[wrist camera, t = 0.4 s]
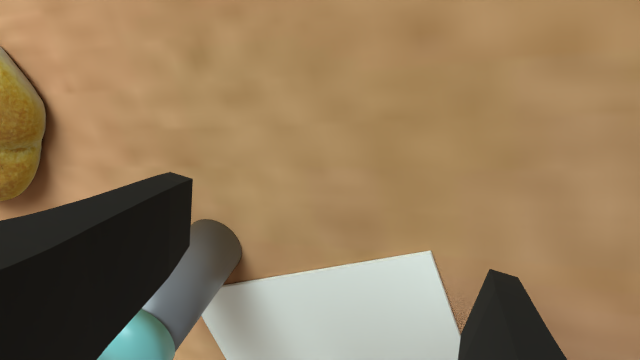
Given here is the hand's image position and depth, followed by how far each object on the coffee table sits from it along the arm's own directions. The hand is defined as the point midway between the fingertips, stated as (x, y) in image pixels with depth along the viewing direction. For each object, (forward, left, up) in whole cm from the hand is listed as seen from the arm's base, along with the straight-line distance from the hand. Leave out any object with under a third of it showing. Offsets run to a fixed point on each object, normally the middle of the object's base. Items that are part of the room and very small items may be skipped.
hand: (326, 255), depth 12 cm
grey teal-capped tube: (-4, +11, -10) cm, 16 cm away
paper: (-13, +7, -10) cm, 18 cm away
